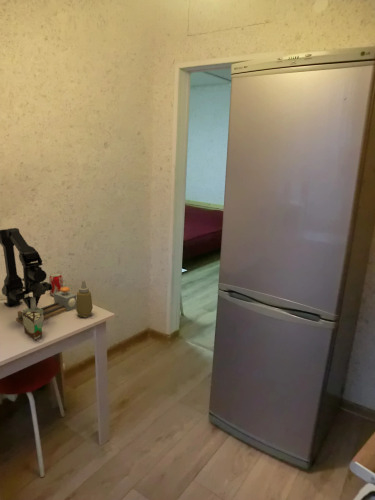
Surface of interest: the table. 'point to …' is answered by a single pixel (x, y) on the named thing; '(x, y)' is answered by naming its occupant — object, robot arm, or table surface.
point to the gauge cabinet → (65, 300)
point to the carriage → (33, 306)
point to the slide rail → (45, 312)
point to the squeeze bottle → (84, 301)
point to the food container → (33, 324)
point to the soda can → (55, 282)
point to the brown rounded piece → (64, 290)
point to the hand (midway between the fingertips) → (32, 307)
